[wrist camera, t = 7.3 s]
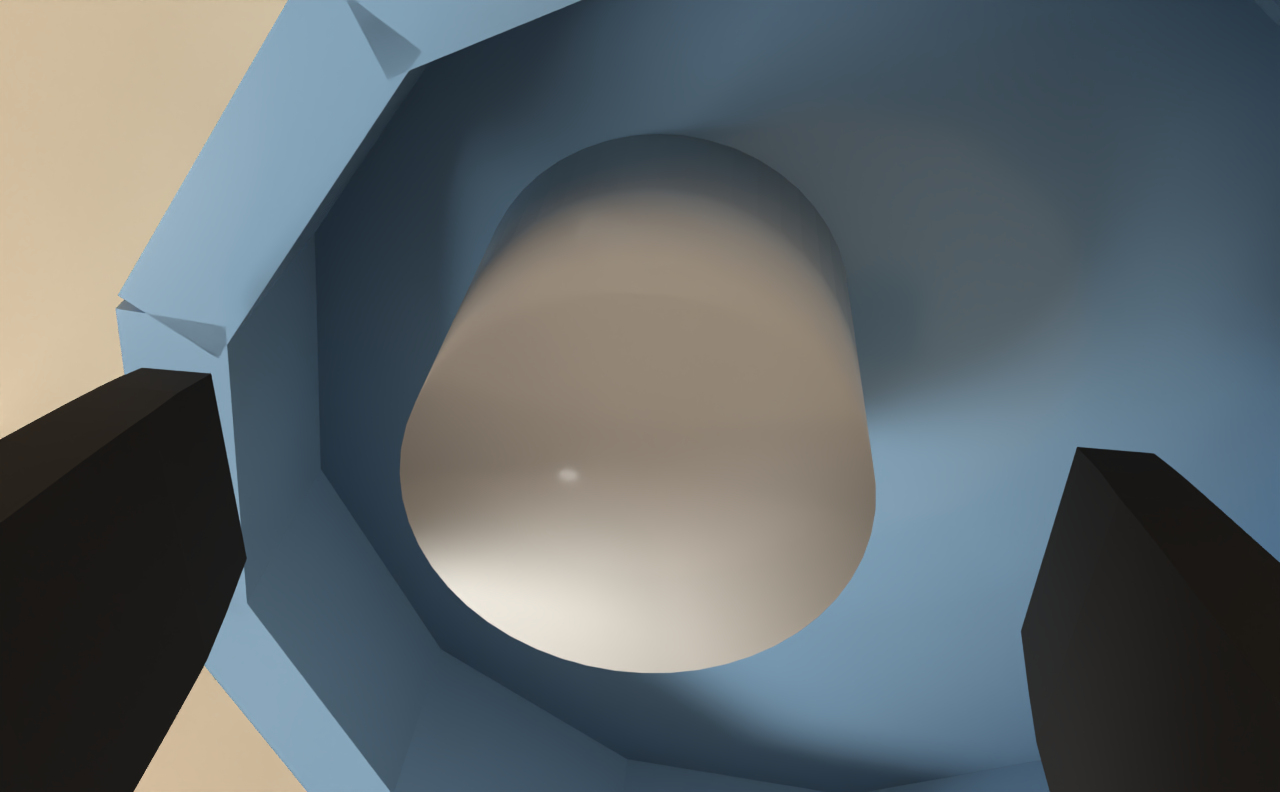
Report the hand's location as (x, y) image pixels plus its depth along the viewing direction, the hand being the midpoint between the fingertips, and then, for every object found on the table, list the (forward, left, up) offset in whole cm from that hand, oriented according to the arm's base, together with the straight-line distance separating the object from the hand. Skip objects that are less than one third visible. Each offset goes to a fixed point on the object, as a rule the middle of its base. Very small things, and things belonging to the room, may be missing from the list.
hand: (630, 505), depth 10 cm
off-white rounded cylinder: (0, 0, -3) cm, 3 cm away
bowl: (+2, 0, -4) cm, 5 cm away
